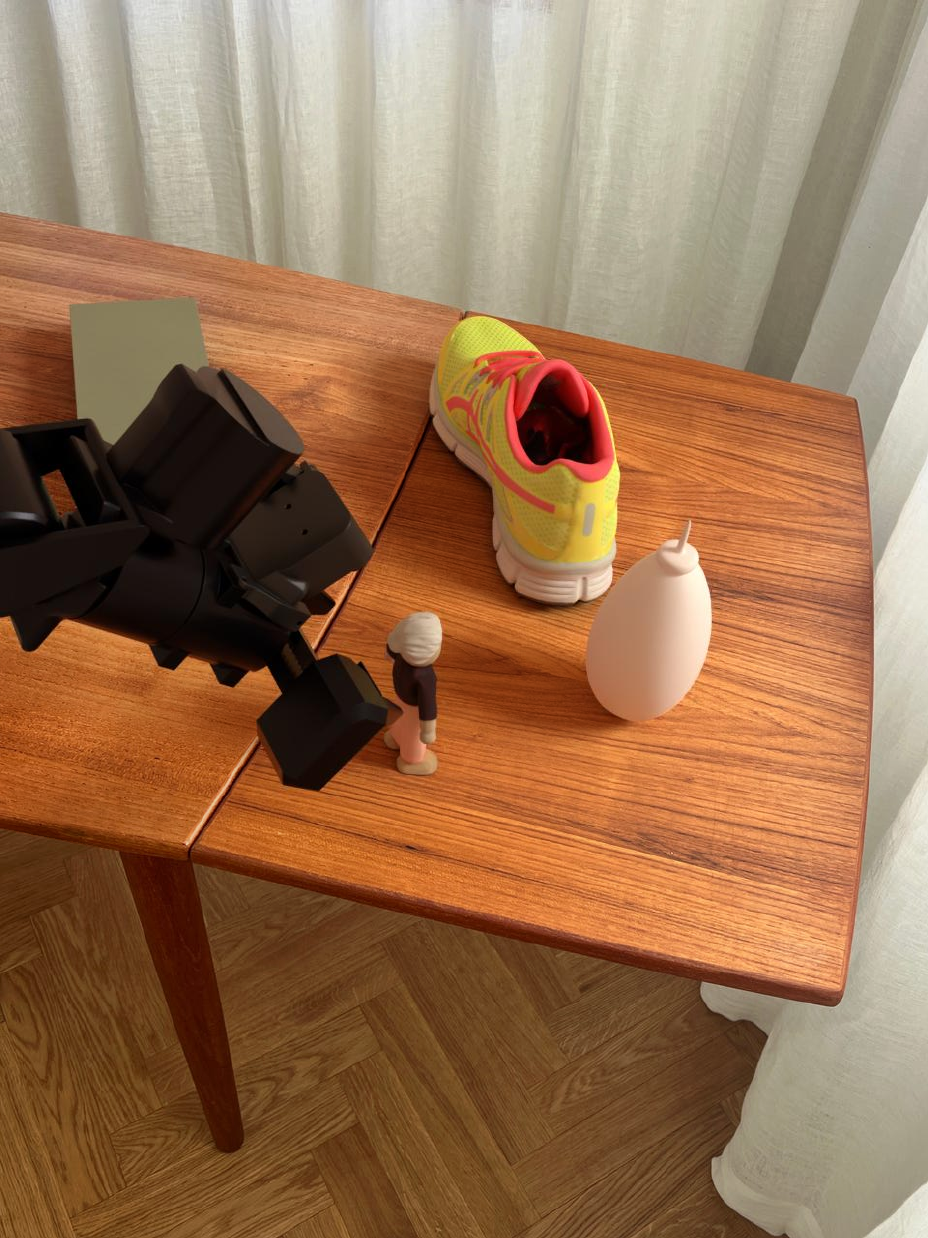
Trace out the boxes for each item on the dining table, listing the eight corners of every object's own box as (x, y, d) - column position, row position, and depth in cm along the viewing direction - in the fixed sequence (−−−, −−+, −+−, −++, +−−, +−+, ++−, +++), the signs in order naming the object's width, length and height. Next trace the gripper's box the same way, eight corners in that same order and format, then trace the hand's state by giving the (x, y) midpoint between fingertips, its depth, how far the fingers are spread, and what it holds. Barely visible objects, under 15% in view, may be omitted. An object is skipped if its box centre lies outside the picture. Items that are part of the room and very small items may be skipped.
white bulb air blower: (604, 645, 83) (660, 460, 70) (698, 695, 81) (774, 514, 68) (553, 711, 79) (602, 526, 65) (650, 767, 76) (722, 586, 63)
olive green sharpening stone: (246, 575, 84) (243, 535, 81) (95, 593, 82) (86, 552, 79) (198, 334, 104) (194, 294, 101) (76, 342, 102) (68, 301, 99)
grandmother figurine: (462, 773, 74) (483, 650, 65) (413, 797, 73) (428, 675, 63) (402, 694, 78) (414, 567, 69) (355, 715, 77) (361, 588, 67)
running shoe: (528, 365, 107) (552, 228, 96) (664, 600, 87) (712, 460, 77) (405, 378, 103) (415, 237, 93) (518, 625, 84) (548, 483, 73)
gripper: (355, 602, 47) (539, 681, 59) (199, 355, 57) (383, 467, 69) (189, 775, 49) (398, 815, 62) (69, 510, 60) (269, 591, 72)
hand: (362, 660), depth 66 cm, fingers open, 9 cm apart
